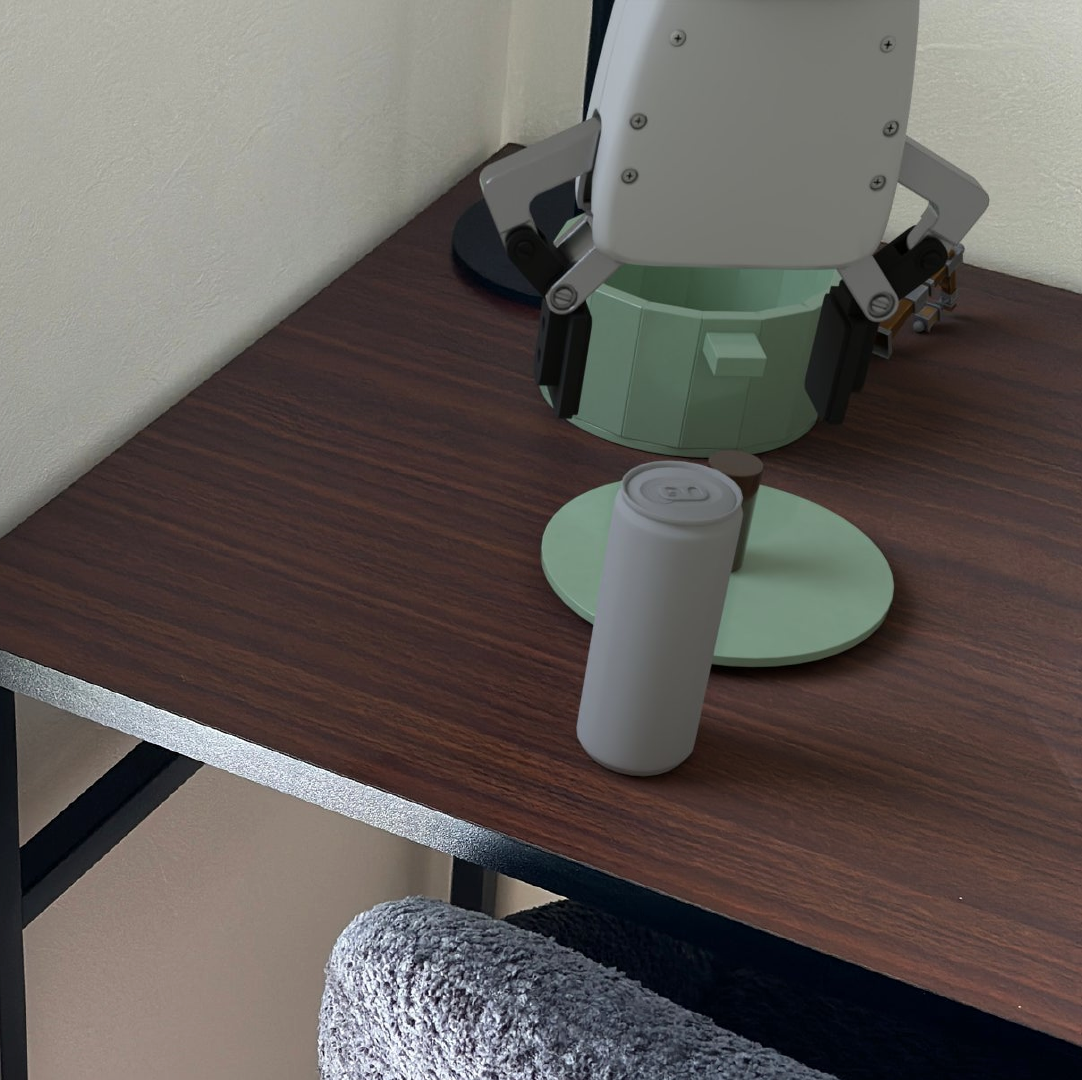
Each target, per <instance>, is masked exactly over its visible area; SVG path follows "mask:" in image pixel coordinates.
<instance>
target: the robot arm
mask: <svg viewBox="0 0 1082 1080" xmlns="http://www.w3.org/2000/svg"><path fill="white" fill-rule="evenodd" d="M920 2H921V0H614V2H613V4H612V5H613V6H612V9H611V13H610V16H609V21H608V25H607V28H606V32H605V35H604V38H603V43H602V47H601V52H600V56H599V60H598V63H597V64H598V65H597V68H596V72H595V78H594V81H593V85H592V91H591V94H590V95H591V96H590V101H589V104H588V111H587V114H586V119H585V120H584V121H581V122H578V123H577V124H575V125H573V126H570V127H568V128H566V129H564V130H561V131H560V132H557V133H555V134H553V135H551V136H549V137H547V138H544V139H542V140H540V141H538V142H536V143H533V144H530V145H528V146H527V147H525V148H522V149H521V150H518V151H516V152H514V153H512V154H509V155H507V156H505V157H503V158H500V159H498V160H496V161H494V162H491V163H490V164H488V165H486V166H485V167H483V168H482V170H481V172H480V174H479V185H480V187H481V191H482V195H483V198H484V200H485V203H486V206H487V208H488V210H489V213H490V215H491V218H492V220H493V222H494V225H495V228H496V230H497V233H498V235H499V237H500V239H501V242H502V245H503V247H504V249H505V252H506V255H507V257H508V259H509V261H510V262H511V263H512V264H513V266H515V267H516V269H517V270H518V271H519V272H520V273H521V274H522V275H523V277H524V278H525V279H526V280H527V281H528V282H529V284H531V286H532V287H533V288H534V289H535V290H536V292H537V293H538V294H539V295H540V296H541V297H542V300H541V306H540V307H541V308H540V315H539V322H538V328H537V329H538V330H537V335H536V336H537V337H536V341H535V342H536V343H535V351H534V358H533V377H534V381H535V384H536V386H538V387H539V386H547V389H548V392H549V395H550V398H551V402H552V405H553V408H554V409H553V408H552V409H553V412H554V414H555V417H556V419H558V420H559V419H561V420H566V419H572V417H573V415H578V411H579V405H580V399H581V393H582V387H583V380H584V374H585V368H586V361H587V355H588V349H589V343H590V336H591V330H592V316H591V313H590V311H589V308H588V305H587V302H586V299H587V298H588V297H589V296H590V295H591V294H592V293H593V292H594V291H595V290H596V289H598V288H599V287H600V286H601V285H602V284H603V283H604V282H605V281H606V280H607V279H608V278H609V277H610V276H611V275H612V274H613V273H615V272H616V271H617V270H618V269H619V268H620V267H621V266H622V265H623V264H624V263H628V264H634V265H646V266H666V267H698V268H735V269H781V270H826V269H836V270H837V271H838V273H839V274H840V276H841V278H842V279H841V280H840V282H839V286H831V288H830V292H829V293H826V294H825V296H824V299H823V303H822V308H821V312H820V316H819V321H818V325H817V329H816V334H815V338H814V342H813V347H812V351H811V355H810V360H809V364H808V368H807V372H806V377H805V383H804V387H805V390H806V392H807V394H808V396H809V398H810V400H811V402H812V404H813V406H814V408H815V410H816V412H817V414H818V416H819V417H818V419H819V420H820V421H821V422H824V423H825V425H828V426H842V425H843V424H844V423H845V418H846V414H847V410H848V406H849V402H850V398H851V394H860V393H861V392H862V391H863V389H864V386H865V383H866V379H867V375H868V371H869V366H870V363H871V359H872V355H873V353H872V352H873V348H874V344H875V340H876V336H877V332H878V328H879V324H880V322H882V321H885V320H887V319H889V318H890V317H892V316H893V315H894V314H895V312H896V311H897V308H898V306H899V301H900V300H901V299H903V298H904V297H905V296H907V295H908V294H909V293H911V292H912V291H914V290H915V289H916V288H918V287H919V286H920V285H922V284H923V283H924V282H926V281H927V280H928V279H930V278H931V277H932V276H934V275H935V274H936V273H938V272H939V271H940V270H941V269H942V268H943V267H944V266H945V264H946V262H947V259H948V253H949V252H950V251H951V250H952V248H953V247H954V246H957V245H958V244H959V243H961V242H962V240H964V238H965V237H966V236H967V234H968V233H969V232H970V231H971V229H972V228H973V227H974V226H975V225H976V224H977V222H978V221H979V220H980V218H981V217H982V216H983V215H984V213H985V212H986V211H987V209H988V208H989V205H990V196H989V194H988V192H987V191H986V190H985V189H984V187H983V186H982V185H981V183H980V182H979V181H978V180H977V178H976V177H974V176H972V175H971V174H969V173H968V172H966V171H964V170H963V169H961V168H959V167H958V166H956V165H955V164H953V163H952V162H951V161H948V159H947V160H946V159H945V158H943V157H942V156H940V155H939V154H937V153H936V152H934V151H933V150H931V149H929V148H928V147H926V146H925V145H923V144H921V143H920V142H918V141H917V140H915V139H914V138H912V137H910V136H909V135H907V132H908V131H907V130H908V123H909V118H910V111H911V103H912V97H913V87H914V78H915V70H916V68H915V67H916V58H917V49H918V47H917V46H918V37H919V23H920V5H921V3H920ZM574 179H575V185H574V186H575V189H574V190H575V200H576V205H577V208H578V209H579V210H580V209H581V210H583V211H584V213H582V214H583V215H582V216H581V217H580V218H579V219H578V220H577V221H576V222H575V223H574V224H573V225H572V226H571V227H570V228H569V229H568V230H567V231H566V232H565V233H564V234H563V235H562V236H561V237H560V238H558V239H557V240H556V241H555V242H554V241H552V240H551V238H549V237H548V236H547V235H546V233H545V232H544V231H543V230H542V228H540V226H539V225H538V224H537V223H536V222H535V220H534V219H533V216H532V213H531V211H530V206H531V202H532V201H533V200H534V198H536V197H538V196H539V195H540V194H543V193H545V192H547V191H549V190H552V189H554V188H556V187H558V186H560V185H563V184H565V183H567V182H570V181H572V180H574ZM898 184H899V185H901V186H903V187H904V188H906V189H908V190H909V191H911V192H913V193H914V194H916V195H917V196H919V197H920V198H922V199H924V200H925V201H927V202H928V203H927V204H928V205H927V207H926V208H925V210H924V211H923V212H922V214H921V215H920V219H919V221H918V222H917V223H916V224H914V225H912V226H909V227H908V228H907V229H906V230H904V231H903V232H902V233H900V234H899V235H898V236H897V237H895V238H893V240H891V241H890V242H889V243H887V244H886V245H884V247H882V248H881V249H879V250H878V248H879V247H880V244H881V242H882V240H883V238H884V235H885V232H886V229H887V226H888V223H889V219H890V216H891V212H892V209H893V205H894V200H895V197H896V192H897V191H896V190H897V186H898ZM877 250H878V251H877Z"/></svg>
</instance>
